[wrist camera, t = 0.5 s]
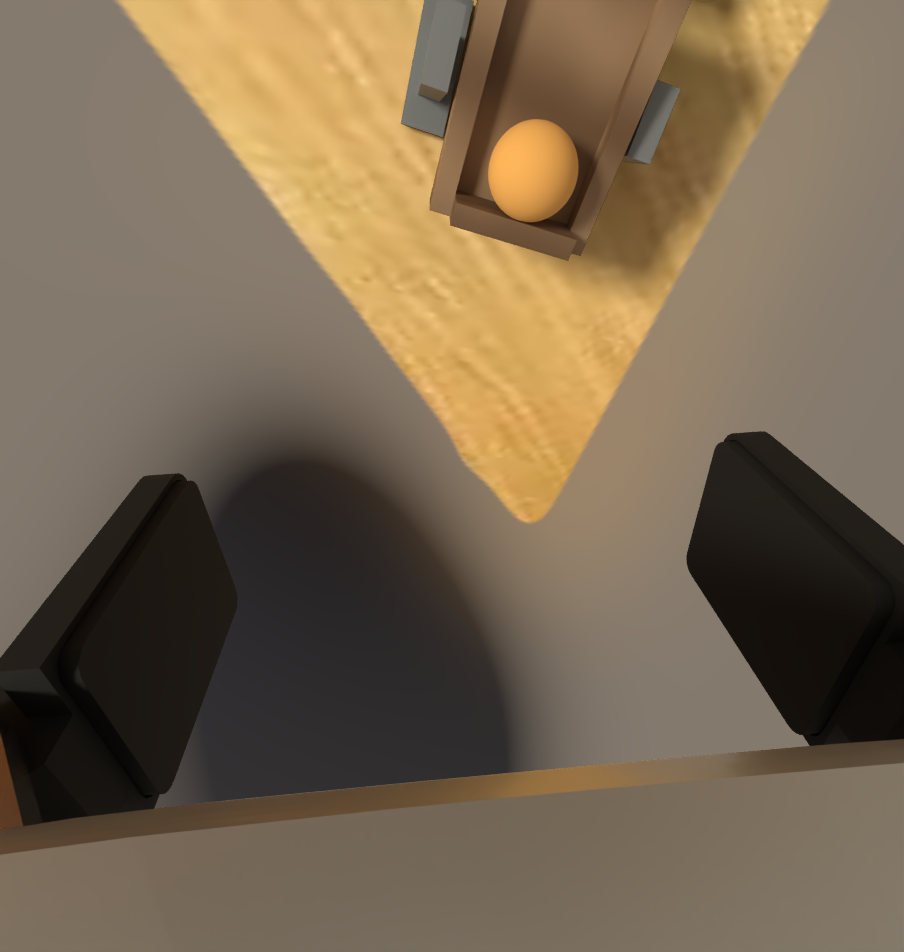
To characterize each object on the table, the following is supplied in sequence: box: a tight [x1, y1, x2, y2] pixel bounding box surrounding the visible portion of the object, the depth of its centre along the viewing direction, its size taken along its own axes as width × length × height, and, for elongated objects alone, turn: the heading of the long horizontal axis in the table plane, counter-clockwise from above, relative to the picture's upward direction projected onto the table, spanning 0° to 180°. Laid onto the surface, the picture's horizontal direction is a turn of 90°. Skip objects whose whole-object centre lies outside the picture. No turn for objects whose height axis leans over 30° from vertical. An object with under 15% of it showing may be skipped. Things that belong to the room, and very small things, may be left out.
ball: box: [488, 119, 578, 222], centre depth 24 cm, size 4×4×4 cm
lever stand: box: [401, 0, 680, 164], centre depth 26 cm, size 6×12×8 cm, turn 74°
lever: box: [430, 0, 692, 261], centre depth 23 cm, size 12×14×6 cm
